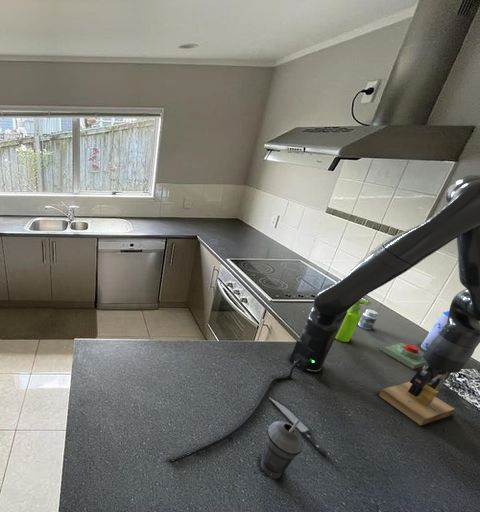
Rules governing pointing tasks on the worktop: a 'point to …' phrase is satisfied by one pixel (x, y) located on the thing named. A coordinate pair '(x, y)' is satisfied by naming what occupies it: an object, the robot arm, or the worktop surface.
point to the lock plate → (415, 405)
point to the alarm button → (411, 348)
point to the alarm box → (406, 355)
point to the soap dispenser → (350, 322)
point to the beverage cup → (280, 447)
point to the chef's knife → (298, 425)
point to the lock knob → (425, 395)
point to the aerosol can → (435, 330)
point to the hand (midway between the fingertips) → (420, 391)
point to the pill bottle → (368, 319)
